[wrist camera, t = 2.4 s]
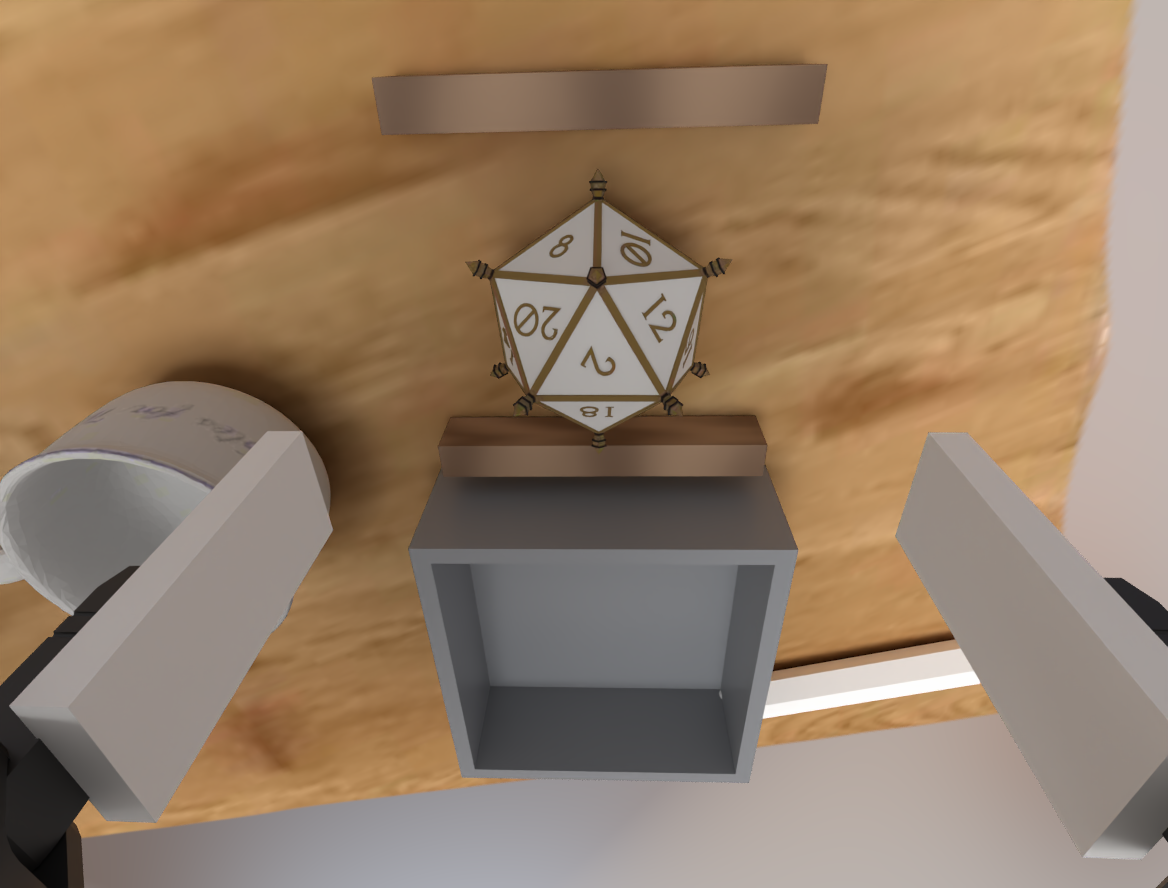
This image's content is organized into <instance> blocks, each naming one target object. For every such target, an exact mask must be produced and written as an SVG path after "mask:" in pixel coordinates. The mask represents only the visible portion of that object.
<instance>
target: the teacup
mask: <svg viewBox="0 0 1168 888" xmlns="http://www.w3.org/2000/svg"><path fill="white" fill-rule="evenodd" d="M267 431H301V430H300V429H299V428H298V427H297V426H296V425H295V424H294V423H293V422H292V421H290V420H289V419H288V418H287V417H285V416H284V415H283V414H282V413H280V412H279V411H277V410H276V409H274V408H273V407H271V406H270V405H268V404H266V403H264V402H263V401H261V400H259V399H257V398H255V397H253V396H251V395H248V394H246V393H243V392H241V391H238V390H235V389H232V388H228V387H224V386H220V385H216V384H211V383H205V382H196V381H172V382H163V383H157V384H152V385H148V386H145V387H141V388H138V389H135V390H133V391H130V392H128V393H126V394H124V395H122V396H120V397H118V398H116V399H114V400H112V401H110V402H109V403H107V404H106V405H104V406H103V407H101V408H100V409H98V410H97V411H95V412H94V413H92V414H91V415H89V416H88V417H87V418H85V419H84V420H82V421H81V422H80V423H78V424H77V425H76V426H74V427H73V428H72V429H70V430H69V431H68V432H66V433H65V434H64V435H62V436H61V437H60V438H59V439H57V440H56V441H55V442H54V443H52V444H51V445H50V446H49V447H47V448H46V449H45V450H44V451H42V452H41V453H40V454H39V455H36V456H34V457H32V458H30V459H28V460H26V461H24V462H22V463H21V464H19V465H17V466H16V467H14V468H13V469H11V470H10V471H9V472H8V473H7V474H6V475H5V476H4V477H3V479H2V480H1V482H0V584H8V583H13V582H16V581H20V580H23V579H25V580H26V581H27V582H28V583H29V584H30V585H31V586H32V587H33V588H34V589H35V590H37V591H38V592H39V593H40V594H41V595H43V596H44V597H45V598H47V599H48V600H49V601H51V602H52V603H54V604H55V605H57V606H58V607H60V608H61V609H62V610H63V611H65V612H67V613H69V614H70V615H72V616H73V615H74V610H75V609H76V608H77V607H78V606H79V605H80V604H81V603H82V602H83V601H84V600H85V599H86V598H87V597H88V596H89V595H90V594H91V593H92V592H93V591H94V590H95V589H96V588H97V587H98V586H100V585H101V584H103V583H104V582H106V581H107V580H109V579H110V578H112V577H113V576H115V575H116V574H118V573H120V572H121V571H123V570H124V569H126V568H127V567H129V566H141V565H142V564H143V563H144V562H145V561H146V560H147V559H148V558H149V557H150V555H151V554H152V553H153V552H154V551H155V550H156V549H157V548H158V547H159V546H160V545H161V544H162V543H163V542H164V541H165V540H166V538H167V537H168V536H169V535H170V534H171V533H172V532H173V531H174V530H175V529H176V528H177V527H178V526H179V525H180V524H181V523H182V521H183V520H184V519H185V518H186V517H187V516H188V515H189V514H190V513H191V512H192V511H193V510H194V509H195V508H196V507H197V506H198V504H199V503H200V502H201V501H202V500H203V499H204V498H205V497H206V496H207V495H208V494H209V493H210V492H211V491H212V490H213V489H214V487H215V486H216V485H217V484H218V483H219V482H220V481H221V480H222V479H223V478H224V477H225V476H226V475H227V474H228V473H229V471H230V470H231V469H232V468H233V467H234V466H235V465H236V464H237V463H238V462H239V461H240V460H241V459H242V458H243V457H244V456H245V454H246V453H247V452H248V451H249V450H250V449H251V448H252V447H253V446H254V445H255V444H256V443H257V442H258V441H259V440H260V439H261V437H262V436H263V435H264V434H265V433H266V432H267ZM302 433H303V432H302ZM303 436H304V439H305V442H306V446H307V449H308V452H309V455H310V458H311V461H312V465H313V468H314V471H315V474H316V477H317V480H318V484H319V487H320V490H321V493H322V496H323V499H324V503H325V506H326V509H327V512H328V515H329V510H330V502H331V492H330V483H329V478H328V475H327V472H326V469H325V466H324V464H323V461H322V459H321V457H320V456H319V454H318V452H317V450H316V449H315V447H314V446H313V444H312V443H311V442H310V440H309V439H308V438H307V437H306V435H305V434H304V433H303ZM293 597H294V596H293ZM293 597H292V599H291V601H290V602H289V604H288V606H287V607H286V609H285V611H284V612H283V614H282V616H281V617H280V619H279V620H278V622H277V624H276V625H275V627H274V629H273V630H272V632H274V631H275V630H276V629H277V628H278V627H279V626H280V625H281V624H282V622H283V621H284V619H285V618H286V617H287V614H288V612H289V610H290V607H291V604H292V601H293ZM272 632H271V633H272Z"/></svg>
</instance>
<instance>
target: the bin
mask: <svg viewBox="0 0 1168 888" xmlns="http://www.w3.org/2000/svg"><path fill="white" fill-rule="evenodd" d="M408 550H409V554H410V558H411V563H412V567H413V571H414V575H415V580H416V584H417V588H418V592H419V597H420V601H421V605H422V609H423V614H424V618H425V622H426V626H427V631H428V635H429V639H430V643H431V648H432V652H433V656H434V660H435V665H436V669H437V673H438V677H439V682H440V686H441V690H442V694H443V699H444V703H445V707H446V711H447V716H448V720H449V724H450V728H451V733H452V737H453V741H454V745H455V750H456V754H457V758H458V762H459V767H460V771H461V775H462V777H467V778H521V779H574V780H627V781H628V780H629V781H680V782H681V781H682V782H734V783H735V782H736V783H739V782H740V783H749V780H750V775H751V771H752V765H753V761H754V756H755V752H756V747H757V742H758V738H759V733H760V728H761V723H762V719H763V714H764V709H765V705H766V700H767V695H768V691H769V686H770V681H771V676H772V672H773V667H774V662H775V658H776V653H777V648H778V643H779V639H780V634H781V629H782V625H783V620H784V615H785V610H786V606H787V601H788V596H789V592H790V587H791V582H792V578H793V573H794V568H795V563H796V559H797V554H798V548H797V545H796V543H795V540H794V538H793V535H792V532H791V530H790V527H789V525H788V522H787V520H786V517H785V514H784V512H783V509H782V507H781V504H780V502H779V499H778V496H777V494H776V491H775V489H774V486H773V484H772V481H771V479H770V476H769V473H768V471H767V468H766V466H765V465H764V470H763V476H596V477H443V472H442V468H441V470H440V472H439V475H438V477H437V480H436V482H435V485H434V487H433V490H432V492H431V494H430V497H429V499H428V502H427V504H426V507H425V509H424V512H423V514H422V516H421V519H420V521H419V524H418V526H417V529H416V531H415V534H414V536H413V538H412V541H411V543H410V546H409V548H408ZM720 690H721V694H722V699H721V697H720V696H719V692H720Z"/></svg>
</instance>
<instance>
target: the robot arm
mask: <svg viewBox="0 0 1168 888" xmlns="http://www.w3.org/2000/svg"><path fill="white" fill-rule="evenodd" d="M332 531H333V528H332V525H331V521H330V518H329V515H328V512H327V509H326V506H325V503H324V499H323V496H322V493H321V490H320V487H319V484H318V480H317V477H316V474H315V471H314V468H313V465H312V461H311V458H310V455H309V452H308V449H307V446H306V442H305V439H304V436H303V433H302V431H267V432H266V433H265V434H264V435H263V436H262V437H261V439H260V440H259V441H258V442H257V443H256V444H255V445H254V446H253V447H252V448H251V449H250V450H249V451H248V452H247V453H246V454H245V456H244V457H243V458H242V459H241V460H240V461H239V462H238V463H237V464H236V465H235V466H234V467H233V468H232V469H231V470H230V471H229V473H228V474H227V475H226V476H225V477H224V478H223V479H222V480H221V481H220V482H219V483H218V484H217V485H216V486H215V487H214V489H213V490H212V491H211V492H210V493H209V494H208V495H207V496H206V497H205V498H204V499H203V500H202V501H201V502H200V503H199V504H198V506H197V507H196V508H195V509H194V510H193V511H192V512H191V513H190V514H189V515H188V516H187V517H186V518H185V519H184V520H183V521H182V523H181V524H180V525H179V526H178V527H177V528H176V529H175V530H174V531H173V532H172V533H171V534H170V535H169V536H168V537H167V538H166V540H165V541H164V542H163V543H162V544H161V545H160V546H159V547H158V548H157V549H156V550H155V551H154V552H153V553H152V554H151V555H150V557H149V558H148V559H147V560H146V561H145V562H144V563H143V564H142V565H141V566H129V567H127V568H126V569H124V570H123V571H121V572H120V573H118V574H116V575H115V576H113V577H112V578H110V579H109V580H107V581H106V582H104V583H103V584H101V585H100V586H98V587H97V588H96V589H95V590H94V591H93V592H92V593H91V594H90V595H89V596H88V597H87V598H86V599H85V600H84V601H83V602H82V603H81V604H80V605H79V606H78V607H77V608H76V609H75V610H74V615H73V616H69V617H68V618H67V619H66V620H65V621H64V622H63V623H62V624H61V625H60V626H59V627H58V628H57V629H56V630H55V631H54V635H53V637H48V638H47V639H46V640H45V641H44V642H43V643H42V644H41V645H40V646H39V647H38V648H37V649H36V650H35V651H34V652H33V653H32V654H31V655H30V656H29V657H28V658H27V659H26V660H25V661H24V662H23V663H22V664H21V665H20V666H19V667H18V668H17V669H16V670H15V671H14V672H13V673H12V674H11V675H10V676H9V677H8V678H7V680H6V681H5V682H4V683H3V684H2V685H1V686H0V888H84V878H83V863H82V846H81V836H80V833H79V831H78V828H77V826H76V824H75V823H74V822H73V820H74V819H75V818H76V816H77V815H78V813H79V812H80V811H81V809H82V808H83V806H84V805H85V804H86V802H87V801H88V799H89V801H90V802H91V803H92V804H93V805H94V806H95V808H96V809H97V810H98V811H99V812H100V813H101V815H102V816H103V817H104V818H105V819H106V821H124V822H151V823H157V821H158V819H159V818H160V816H161V814H162V813H163V811H164V809H165V808H166V806H167V804H168V803H169V801H170V799H171V798H172V796H173V794H174V793H175V791H176V789H177V788H178V786H179V784H180V783H181V781H182V779H183V778H184V776H185V775H186V773H187V771H188V770H189V768H190V766H191V765H192V763H193V761H194V760H195V758H196V756H197V755H198V753H199V751H200V750H201V748H202V746H203V745H204V743H205V741H206V740H207V738H208V736H209V735H210V733H211V731H212V730H213V728H214V726H215V725H216V723H217V722H218V720H219V718H220V717H221V715H222V713H223V712H224V710H225V708H226V707H227V705H228V703H229V702H230V700H231V698H232V697H233V695H234V693H235V692H236V690H237V688H238V687H239V685H240V683H241V682H242V680H243V678H244V677H245V675H246V673H247V672H248V670H249V669H250V667H251V665H252V664H253V662H254V660H255V659H256V657H257V655H258V654H259V652H260V650H261V649H262V647H263V645H264V644H265V642H266V640H267V639H268V637H269V635H270V634H271V632H272V630H273V629H274V627H275V625H276V624H277V622H278V620H279V619H280V617H281V616H282V614H283V612H284V611H285V609H286V607H287V606H288V604H289V602H290V601H291V599H292V597H293V596H294V594H295V592H296V591H297V589H298V587H299V586H300V584H301V582H302V581H303V579H304V577H305V576H306V574H307V572H308V571H309V569H310V568H311V566H312V564H313V563H314V561H315V559H316V558H317V556H318V554H319V553H320V551H321V549H322V548H323V546H324V544H325V543H326V541H327V539H328V538H329V536H330V534H331V533H332ZM895 536H896V538H897V540H898V542H899V543H900V545H901V547H902V548H903V550H904V552H905V554H906V555H907V557H908V559H909V560H910V562H911V564H912V566H913V567H914V569H915V571H916V572H917V574H918V576H919V578H920V579H921V581H922V583H923V584H924V586H925V588H926V590H927V591H928V593H929V595H930V597H931V598H932V600H933V602H934V603H935V605H936V607H937V609H938V610H939V612H940V614H941V615H942V617H943V619H944V621H945V622H946V624H947V626H948V627H949V629H950V631H951V633H952V634H953V636H954V638H955V639H956V641H957V643H958V645H959V646H960V648H961V650H962V652H963V653H964V655H965V657H966V658H967V660H968V662H969V664H970V665H971V667H972V669H973V670H974V672H975V674H976V676H977V677H978V679H979V681H980V682H981V684H982V686H983V688H984V689H985V691H986V693H987V694H988V696H989V698H990V700H991V701H992V703H993V705H994V707H995V708H996V710H997V712H998V713H999V715H1000V717H1001V719H1002V720H1003V722H1004V724H1005V725H1006V727H1007V729H1008V730H1009V732H1010V734H1011V735H1012V737H1013V739H1014V741H1015V743H1016V744H1017V746H1018V748H1019V749H1020V751H1021V753H1022V755H1023V756H1024V758H1025V760H1026V761H1027V763H1028V765H1029V767H1030V768H1031V770H1032V772H1033V773H1034V775H1035V777H1036V779H1037V780H1038V782H1039V784H1040V785H1041V787H1042V789H1043V791H1044V792H1045V794H1046V796H1047V798H1048V799H1049V801H1050V803H1051V804H1052V806H1053V808H1054V809H1055V811H1056V813H1057V815H1058V816H1059V818H1060V820H1061V822H1062V823H1063V825H1064V827H1065V829H1066V830H1067V832H1068V834H1069V835H1070V837H1071V839H1072V840H1073V842H1074V844H1075V846H1076V847H1077V849H1078V851H1079V853H1080V854H1081V856H1082V857H1086V858H1088V857H1089V858H1113V859H1140V860H1141V859H1142V858H1143V857H1144V856H1145V855H1146V854H1147V853H1148V852H1149V851H1150V849H1152V847H1153V846H1154V845H1155V844H1156V843H1157V842H1158V841H1159V840H1160V839H1161V838H1162V837H1163V836H1164V838H1165V839H1166V841H1167V842H1168V611H1167V610H1166V609H1165V608H1164V607H1163V606H1162V605H1161V604H1160V603H1159V602H1158V601H1156V600H1155V599H1153V598H1151V597H1150V596H1148V595H1147V594H1145V593H1144V592H1142V591H1140V590H1139V589H1138V588H1136V587H1135V586H1133V585H1131V584H1130V583H1128V582H1127V581H1125V580H1124V579H1122V578H1103V577H1102V576H1101V575H1100V574H1099V573H1098V572H1097V571H1096V570H1095V569H1094V568H1093V567H1092V566H1091V564H1090V563H1089V562H1088V561H1087V560H1086V559H1085V558H1084V557H1083V556H1082V555H1081V554H1080V553H1079V552H1078V551H1077V550H1076V549H1075V547H1074V546H1073V545H1072V544H1071V543H1070V542H1069V541H1068V540H1067V539H1066V538H1065V537H1064V536H1063V535H1062V533H1061V532H1060V531H1059V530H1058V529H1057V528H1056V527H1055V526H1054V525H1053V524H1052V523H1051V522H1050V521H1049V520H1048V518H1047V517H1046V516H1045V515H1044V514H1043V513H1042V512H1041V511H1040V510H1039V509H1038V508H1037V507H1036V506H1035V505H1034V504H1033V502H1032V501H1031V500H1030V499H1029V498H1028V497H1027V496H1026V495H1025V494H1024V493H1023V492H1022V491H1021V490H1020V489H1019V487H1018V486H1017V485H1016V484H1015V483H1014V482H1013V481H1012V480H1011V479H1010V478H1009V477H1008V476H1007V475H1006V474H1005V473H1004V471H1003V470H1002V469H1001V468H1000V467H999V466H998V465H997V464H996V463H995V462H994V461H993V460H992V459H991V458H990V456H989V455H988V454H987V453H986V452H985V451H984V450H983V449H982V448H981V447H980V446H979V445H978V444H977V443H976V441H975V440H974V439H973V438H972V437H971V436H970V435H969V434H968V433H928V436H927V439H926V442H925V445H924V448H923V451H922V454H921V457H920V461H919V464H918V467H917V470H916V473H915V476H914V479H913V482H912V486H911V489H910V492H909V495H908V498H907V501H906V504H905V507H904V511H903V514H902V517H901V520H900V523H899V526H898V529H897V532H896V535H895ZM1156 888H1168V876H1167V877H1166V878H1165V879H1164V880H1163V881H1162V882H1161V883H1160V884H1159V885H1158V886H1157V887H1156Z"/></svg>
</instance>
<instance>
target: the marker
mask: <svg viewBox="0 0 1168 888" xmlns="http://www.w3.org/2000/svg"><path fill="white" fill-rule="evenodd" d="M975 684H980V681H979V679H978V677H977V676H976V674H975V672H974V670H973V669H972V667H971V665H970V664H969V662H968V660H967V658H966V657H965V655H964V653H963V652H962V650H961V648H960V646H959V645H958V643H957V641H956V639H954V640H949V641H943V642H937V643H932V644H926V645H920V646H915V647H909V648H903V649H897V650H892V651H886V652H880V653H875V654H869V655H863V656H858V657H852V658H846V659H840V660H835V661H829V662H823V663H818V664H812V665H806V666H801V667H795V668H789V669H784V670H778V671H773V672H772V676H771V681H770V686H769V691H768V695H767V700H766V705H765V709H764V714H763V719H764V718H770V717H776V716H782V715H789V714H795V713H801V712H807V711H813V710H820V709H826V708H832V707H838V706H844V705H851V704H857V703H863V702H869V701H875V700H882V699H888V698H894V697H900V696H906V695H913V694H919V693H925V692H931V691H937V690H944V689H950V688H956V687H962V686H968V685H975ZM719 696H720V697H721V699H722V694H721V690H720V692H719Z"/></svg>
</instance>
